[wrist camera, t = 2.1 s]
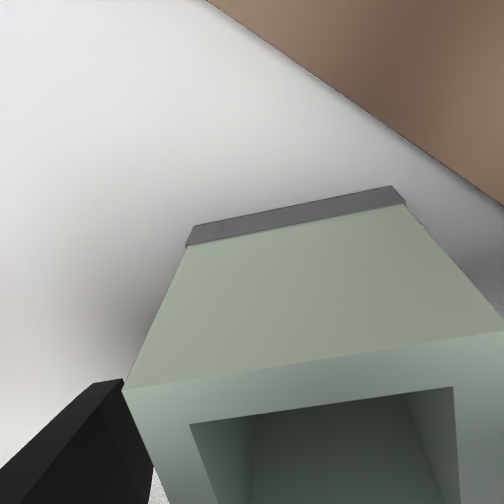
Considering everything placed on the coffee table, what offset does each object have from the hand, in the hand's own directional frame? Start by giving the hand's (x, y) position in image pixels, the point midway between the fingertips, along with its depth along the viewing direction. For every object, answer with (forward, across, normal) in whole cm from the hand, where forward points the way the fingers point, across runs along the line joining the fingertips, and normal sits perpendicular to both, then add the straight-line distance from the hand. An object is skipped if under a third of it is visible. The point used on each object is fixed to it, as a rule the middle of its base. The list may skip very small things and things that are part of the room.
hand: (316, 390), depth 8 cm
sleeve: (+4, 0, 0) cm, 4 cm away
